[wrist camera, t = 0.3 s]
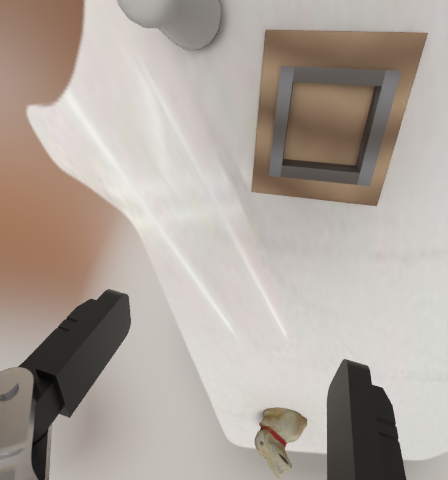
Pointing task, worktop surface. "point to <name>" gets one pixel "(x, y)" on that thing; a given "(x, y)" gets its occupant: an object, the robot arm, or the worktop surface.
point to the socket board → (332, 111)
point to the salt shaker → (177, 19)
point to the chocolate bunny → (278, 437)
